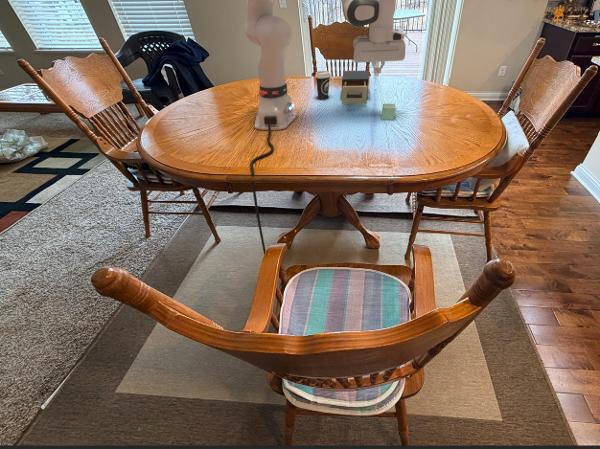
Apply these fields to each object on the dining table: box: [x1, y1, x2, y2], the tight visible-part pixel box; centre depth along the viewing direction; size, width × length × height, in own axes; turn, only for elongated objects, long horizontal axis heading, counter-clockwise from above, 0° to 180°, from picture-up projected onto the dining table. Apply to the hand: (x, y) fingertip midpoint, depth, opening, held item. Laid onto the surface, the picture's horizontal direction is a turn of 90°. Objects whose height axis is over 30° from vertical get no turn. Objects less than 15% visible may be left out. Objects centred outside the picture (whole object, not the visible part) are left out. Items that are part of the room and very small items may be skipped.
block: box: [381, 103, 397, 121], centre depth 131 cm, size 5×5×5 cm
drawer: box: [341, 81, 369, 105], centre depth 145 cm, size 18×12×8 cm, turn 171°
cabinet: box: [340, 70, 370, 101], centre depth 154 cm, size 15×13×10 cm
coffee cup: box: [314, 70, 331, 100], centre depth 152 cm, size 8×8×12 cm
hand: (377, 73), depth 126 cm, fingers closed
